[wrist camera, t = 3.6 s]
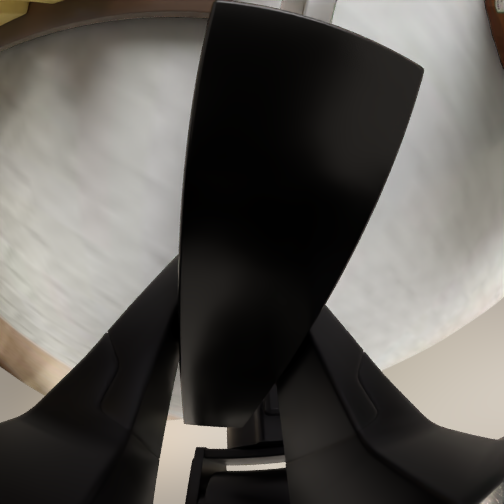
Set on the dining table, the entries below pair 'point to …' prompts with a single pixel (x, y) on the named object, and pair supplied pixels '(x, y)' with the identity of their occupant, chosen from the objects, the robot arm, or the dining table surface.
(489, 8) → the cake slice
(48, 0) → the butter slice
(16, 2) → the butter block
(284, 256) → the knife
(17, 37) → the butter board
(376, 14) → the dining table surface
